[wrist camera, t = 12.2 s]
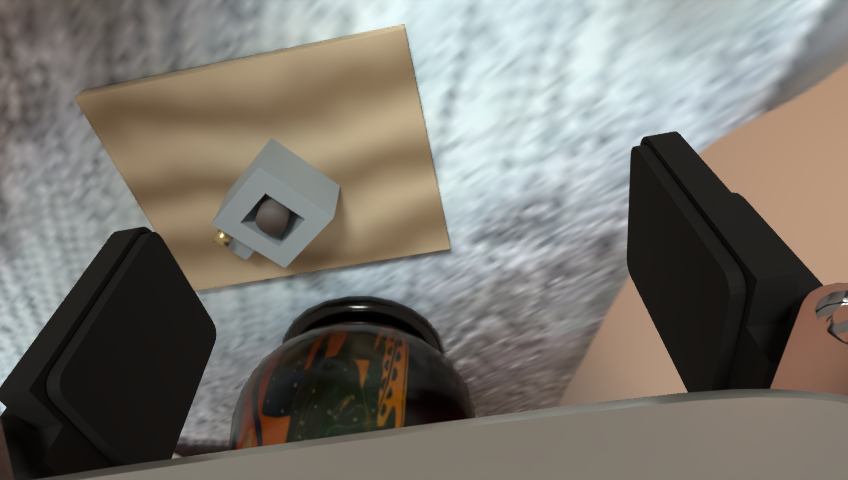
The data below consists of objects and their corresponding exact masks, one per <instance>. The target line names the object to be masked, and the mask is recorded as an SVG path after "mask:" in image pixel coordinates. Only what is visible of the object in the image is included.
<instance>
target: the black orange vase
mask: <svg viewBox="0 0 848 480" xmlns="http://www.w3.org/2000/svg"><path fill="white" fill-rule="evenodd" d="M471 418H475V413H474V407H473V404H472V401H471V398H470V395H469V391H468V389H467V387H466V385H465V383H464V381H463V380H462V378H461V376H460V374H459V373H458V372H457V371H456V369H455V368H454V367H453V366H452V364H451V363H450V362H449V361H448V359H447V358H446V357H445V356H444V355H443V347H442V345H441V342H440V339H439V336H438V333H437V332H436V331H435V329H434V328H433V327H432V325H431V324H430V323H429V322H428V320H426V319H425V318H424V317H422V316H421V315H419V314H418V313H417V312H415V311H414V310H412V309H411V308H408V307H406V306H404V305H401V304H399V303H396V302H394V301H392V300H387V299H382V298H377V297H372V296H348V297H343V298H338V299H333V300H328V301H325V302H323V303H321V304H319V305H316V306H314V307H312V308H310V309H307V310H306V311H305V312H304V313H302V314H301V315H300V316H299V317H298V318H296V319H295V320H294V321H293V322H292V324H291V326H290V327H289V329H288V330H287V332H286V333H285V335H284V338H283V342H282V345H281V346H279V347H278V348H277V349H276V350H274V351H273V352H272V353H271V354H269V355H268V356H267V357H266V358H264V359H263V360H262V362H261V363H260V364H259V365H258V367H257V368H256V369H255V370H254V371H253V373H252V374H251V376H250V378H249V379H248V381H247V382H246V384H245V386H244V387H243V389H242V390H241V393H240V396H239V399H238V402H237V404H236V407H235V410H234V413H233V418H232V425H231V433H230V442H229V451H232V450H239V449H246V448H253V447H261V446H268V445H276V444H283V443H290V442H298V441H305V440H312V439H320V438H327V437H335V436H342V435H350V434H357V433H365V432H372V431H379V430H387V429H394V428H402V427H409V426H417V425H424V424H432V423H440V422H448V421H455V420H463V419H471Z"/></svg>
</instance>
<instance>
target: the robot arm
mask: <svg viewBox="0 0 848 480" xmlns="http://www.w3.org/2000/svg"><path fill="white" fill-rule="evenodd" d="M627 265H628V270H629V273H630V276H631V278H632V280H633V282H634V284H635V286H636V288H637V290H638V292H639V294H640V296H641V298H642V300H643V302H644V304H645V306H646V308H647V310H648V312H649V314H650V316H651V318H652V321H653V322H654V325H655V327H656V329H657V331H658V332H659V334H660V337H661V339H662V341H663V343H664V345H665V347H666V349H667V351H668V353H669V355H670V357H671V359H672V361H673V363H674V365H675V367H676V369H677V371H678V373H679V375H680V377H681V379H682V381H683V383H684V385H685V387H686V389H687V391H688V393H678V394H668V395H659V396H651V397H642V398H633V399H625V400H616V401H607V402H598V403H589V404H580V405H572V406H564V407H556V408H548V409H541V410H533V411H525V412H517V413H510V414H502V415H494V416H486V417H479V418H471V419H463V420H455V421H448V422H440V423H432V424H424V425H417V426H409V427H402V428H394V429H387V430H379V431H372V432H365V433H357V434H350V435H342V436H335V437H327V438H320V439H312V440H305V441H298V442H290V443H283V444H276V445H268V446H261V447H253V448H246V449H239V450H232V451H225V452H218V453H210V454H203V455H196V456H189V457H182V458H175V459H171V458H172V455H173V452H174V450H175V447H176V444H177V442H178V439H179V436H180V434H181V431H182V428H183V426H184V423H185V420H186V418H187V415H188V413H189V410H190V407H191V405H192V402H193V399H194V397H195V394H196V391H197V389H198V386H199V383H200V381H201V378H202V375H203V373H204V370H205V367H206V365H207V362H208V359H209V357H210V354H211V352H212V349H213V346H214V344H215V340H216V328H215V325H214V323H213V321H212V320H211V318H210V316H209V315H208V313H207V311H206V310H205V308H204V306H203V305H202V303H201V301H200V300H199V298H198V296H197V295H196V293H195V291H194V290H193V288H192V286H191V285H190V283H189V281H188V280H187V278H186V276H185V275H184V273H183V271H182V270H181V268H180V266H179V265H178V263H177V261H176V260H175V258H174V256H173V255H172V253H171V251H170V250H169V248H168V247H167V245H166V243H165V242H164V240H163V238H162V237H161V236H160V235H159V234H158V233H156V232H152V231H151V230H150V229H148V228H146V227H139V228H133V229H128V230H122V231H117V232H114V233H113V234H112V235H111V236H110V238H109V239H108V240H107V242H106V243H105V244H104V246H103V247H102V249H101V250H100V251H99V253H98V254H97V255H96V257H95V258H94V260H93V261H92V262H91V264H90V265H89V266H88V268H87V269H86V270H85V272H84V273H83V275H82V276H81V277H80V279H79V280H78V281H77V283H76V284H75V286H74V287H73V288H72V290H71V291H70V292H69V294H68V295H67V296H66V298H65V299H64V301H63V302H62V303H61V305H60V306H59V307H58V309H57V310H56V312H55V313H54V314H53V316H52V317H51V318H50V320H49V321H48V323H47V324H46V325H45V327H44V328H43V329H42V331H41V332H40V333H39V335H38V336H37V338H36V339H35V340H34V342H33V343H32V344H31V346H30V347H29V349H28V350H27V351H26V353H25V354H24V355H23V357H22V358H21V359H20V361H19V362H18V364H17V365H16V366H15V368H14V369H13V370H12V372H11V373H10V375H9V376H8V377H7V379H6V380H5V381H4V383H3V384H2V385H1V387H0V401H1V402H2V403H3V404H4V405H5V406H6V407H7V408H6V409H5V411H4V412H3V413H2V415H1V416H0V480H848V283H835V284H830V285H825V286H823V285H822V283H821V282H820V281H819V280H818V279H817V278H816V277H815V276H814V275H813V273H812V272H811V271H810V270H809V269H808V268H807V267H806V266H805V265H804V264H803V262H802V261H801V260H800V259H799V258H798V257H797V256H796V255H795V254H794V252H793V251H792V250H791V249H790V248H789V247H788V246H787V245H786V244H785V243H784V241H783V240H782V239H781V238H780V237H779V236H778V235H777V234H776V233H775V232H774V230H773V229H772V228H771V227H770V226H769V225H768V224H767V223H766V222H765V221H764V219H763V218H762V217H761V216H760V215H759V214H758V213H757V212H756V211H755V210H754V208H753V207H752V206H751V205H750V204H749V203H748V202H747V201H746V199H745V198H744V197H742V196H741V195H739V194H738V193H731V192H730V191H729V189H728V188H727V187H726V186H725V185H724V184H723V183H722V181H721V180H720V179H719V178H718V177H717V176H716V175H715V174H714V172H712V170H711V169H710V168H709V167H708V166H707V164H706V163H705V162H704V161H703V160H702V159H701V158H700V157H699V155H698V154H697V153H696V152H695V151H694V150H693V149H692V147H691V146H690V145H689V144H688V143H687V142H686V141H685V140H684V138H683V137H682V136H681V135H680V134H679V133H678V132H669V133H663V134H658V135H652V136H646V137H643V139H642V141H641V144H640V146H635V147H633V148H632V150H631V163H630V189H629V215H628V241H627Z"/></svg>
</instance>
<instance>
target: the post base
mask: <svg viewBox="0 0 848 480" xmlns="http://www.w3.org/2000/svg"><path fill="white" fill-rule="evenodd" d="M74 98H75V100H76V101H77V103H78V105H79V106H80V108H81V110H82V111H83V113H84V114H85V116H86V118H87V119H88V121H89V123H90V124H91V126H92V128H93V129H94V131H95V133H96V134H97V136H98V138H99V139H100V141H101V143H102V144H103V146H104V147H105V149H106V151H107V152H108V154H109V156H110V157H111V159H112V161H113V162H114V164H115V166H116V167H117V169H118V171H119V172H120V174H121V175H122V177H123V179H124V180H125V182H126V184H127V185H128V187H129V189H130V190H131V192H132V194H133V195H134V197H135V199H136V200H137V202H138V203H139V205H140V207H141V208H142V210H143V212H144V213H145V215H146V217H147V218H148V220H149V222H150V223H151V225H152V227H153V228H154V230H155V231H156V233H158V234H159V235H160V236H161V237H162V238H163V240H164V242H165V243H166V245H167V247H168V248H169V250H170V251H171V253H172V255H173V256H174V258H175V260H176V261H177V263H178V265H179V266H180V268H181V270H182V271H183V273H184V275H185V276H186V278H187V280H188V281H189V283H190V285H191V286H192V288H193V290H194V291H198V290H204V289H210V288H216V287H222V286H228V285H234V284H240V283H246V282H252V281H258V280H264V279H270V278H276V277H282V276H288V275H294V274H301V273H307V272H313V271H319V270H325V269H331V268H337V267H343V266H349V265H355V264H361V263H367V262H373V261H379V260H385V259H391V258H397V257H403V256H409V255H415V254H421V253H427V252H433V251H439V250H445V249H450V242H449V236H448V232H447V227H446V222H445V217H444V212H443V208H442V203H441V198H440V193H439V188H438V184H437V179H436V174H435V169H434V164H433V160H432V155H431V150H430V145H429V140H428V135H427V131H426V126H425V121H424V116H423V111H422V107H421V102H420V97H419V92H418V87H417V83H416V78H415V73H414V68H413V63H412V59H411V54H410V49H409V44H408V39H407V35H406V30H405V25H404V24H402V25H397V26H392V27H387V28H382V29H378V30H373V31H368V32H363V33H358V34H354V35H349V36H344V37H339V38H334V39H329V40H325V41H320V42H315V43H310V44H305V45H301V46H296V47H291V48H286V49H281V50H276V51H272V52H267V53H262V54H257V55H252V56H248V57H243V58H238V59H233V60H228V61H223V62H219V63H214V64H209V65H204V66H199V67H195V68H190V69H185V70H180V71H175V72H171V73H166V74H161V75H156V76H151V77H146V78H142V79H137V80H132V81H127V82H122V83H118V84H113V85H108V86H103V87H98V88H93V89H89V90H84V91H81V92H80V93H79V94H78V95H76V96H75V97H74ZM271 137H272V138H273V139H275V140H276V141H277V142H279V143H280V144H282V145H283V146H284V147H286V148H287V149H289V150H290V151H292V152H293V153H294V154H296V155H297V156H299V157H300V158H301V159H303V160H304V161H306V162H307V163H309V164H310V165H311V166H313V167H314V168H316V169H317V170H318V171H320V172H321V173H323V174H324V175H326V176H327V177H328V178H330V179H331V180H333V181H334V182H335V183H337V184H338V185H340V189H339V194H338V199H337V204H336V210H335V215H334V218H333V219H332V220H331V221H330V222H329V223H328V224H327V225H326V226H325V227H324V229H323V230H322V231H321V232H320V233H319V234H318V235H317V236H316V237H315V238H314V239H313V240H312V241H311V242H310V243H309V244H308V245H307V246H306V247H305V248H304V249H303V250H302V251H301V252H300V253H299V254H298V255H297V256H296V257H295V258H294V259H293V261H292V262H291V263H290V264H289V265H288V266H287V267H286V268H284V267H282V266H280V265H279V264H277V263H275V262H274V261H272V260H270V259H269V258H267V257H265V256H264V255H262V254H260V253H259V252H257V251H254V252H253V253H252V254H251V255H250V257H249V258H248V259H247V260H245V259H243V258H242V257H240V256H238V255H236V254H235V253H233V252H231V251H230V250H228V249H226V248H219V247H217V246H216V245H215V244H214V242H213V240H214V237H215V235H216V233H217V231H218V228H217V227H215V226H213V225H212V222H213V220H214V218H215V216H216V214H217V212H218V210H219V208H220V206H221V204H222V202H223V200H224V198H225V196H226V194H227V192H228V191H229V189H230V188H231V187H232V186H233V185H234V183H235V182H236V181H237V180H238V178H239V177H240V176H241V175H242V173H243V172H244V171H245V170H246V168H247V167H248V166H249V165H250V163H251V162H252V161H253V160H254V158H255V157H256V156H257V155H258V154H259V152H260V151H261V150H262V149H263V147H264V146H265V145H266V144H267V142H268V141H269V140H270V139H271ZM263 197H264V198H263V200H262V203H261V206H260V208H259V211H258V213H257V216H256V224H257V226H258V228H259V229H260V230H262V231H263V232H265V233H268V234H279V233H281V232H282V231H284V229H285V228H286V225H287V222H288V218H289V215H290V213H291V212H292V210H290V209H289V208H287V207H286V206H284V205H283V204H281V203H279V202H278V201H276V200H275V199H273V198H272V197H270V196H269V195H267V194H266V193H265V194H264V195H263Z"/></svg>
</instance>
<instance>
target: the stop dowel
mask: <svg viewBox="0 0 848 480" xmlns="http://www.w3.org/2000/svg"><path fill="white" fill-rule="evenodd" d="M231 239H232V236H230V235H229V234H227V233H225V232H224V231H222V230H220V229H218V231H217V233H216V235H215V237H214V240H213V242H214V244H215V245H216V246H217V247H219V248H226V247H228V246H229V244H230V241H231Z"/></svg>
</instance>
